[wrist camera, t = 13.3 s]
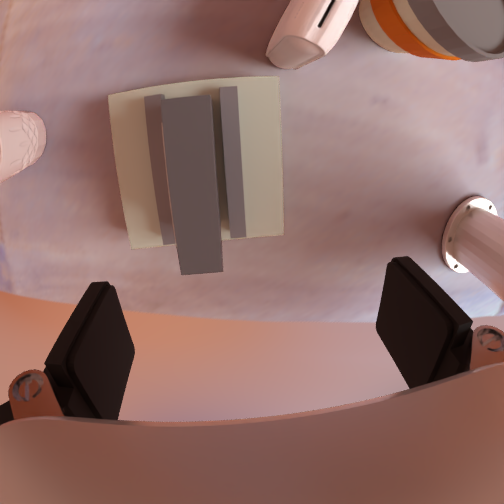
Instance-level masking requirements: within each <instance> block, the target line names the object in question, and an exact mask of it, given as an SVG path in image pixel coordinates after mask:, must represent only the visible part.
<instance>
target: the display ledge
mask: <svg viewBox="0 0 504 504" xmlns="http://www.w3.org/2000/svg"><path fill="white" fill-rule="evenodd" d="M198 95H210V96H211V98H212V105H213V122H214V138H215V154H216V168H217V182H218V196H219V208H220V221H221V240H222V241H223V240H234V239H244V238H255V237H266V236H278V235H284V208H283V165H282V134H281V109H280V88H279V76H254V77H233V78H218V79H207V80H197V81H188V82H180V83H172V84H165V85H159V86H152V87H146V88H141V89H135V90H130V91H125V92H120V93H115V94H111V95H108V104H109V115H110V124H111V133H112V142H113V149H114V157H115V164H116V171H117V177H118V183H119V189H120V195H121V201H122V206H123V211H124V217H125V222H126V227H127V232H128V236H129V241H130V245H131V250H132V249H142V248H151V247H161V246H171V245H176V242H175V236H174V229H173V222H172V214H171V207H170V199H169V191H168V182H167V174H166V164H165V155H164V144H163V133H162V113H161V100H163V99H171V98H179V97H188V96H198Z"/></svg>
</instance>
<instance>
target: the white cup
mask: <svg viewBox="0 0 504 504" xmlns="http://www.w3.org/2000/svg"><path fill="white" fill-rule="evenodd" d="M45 145H46V128H45V126H44V123H43V120H42V119H41V118H40V117H39V116H38V115H37V114H36V113H33V112H27V111H0V183H2V182H4V181H5V180H7V179H9V178H11V177H12V176H14V175H15V174H17V173H19V172H21V171H22V170H23V169H25V168H26V167H28V166H30V165H32V164H34V163H35V162H36V161H37V160H38V159H39V158H40V157H41V156H42V154H43V151H44V148H45Z"/></svg>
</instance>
